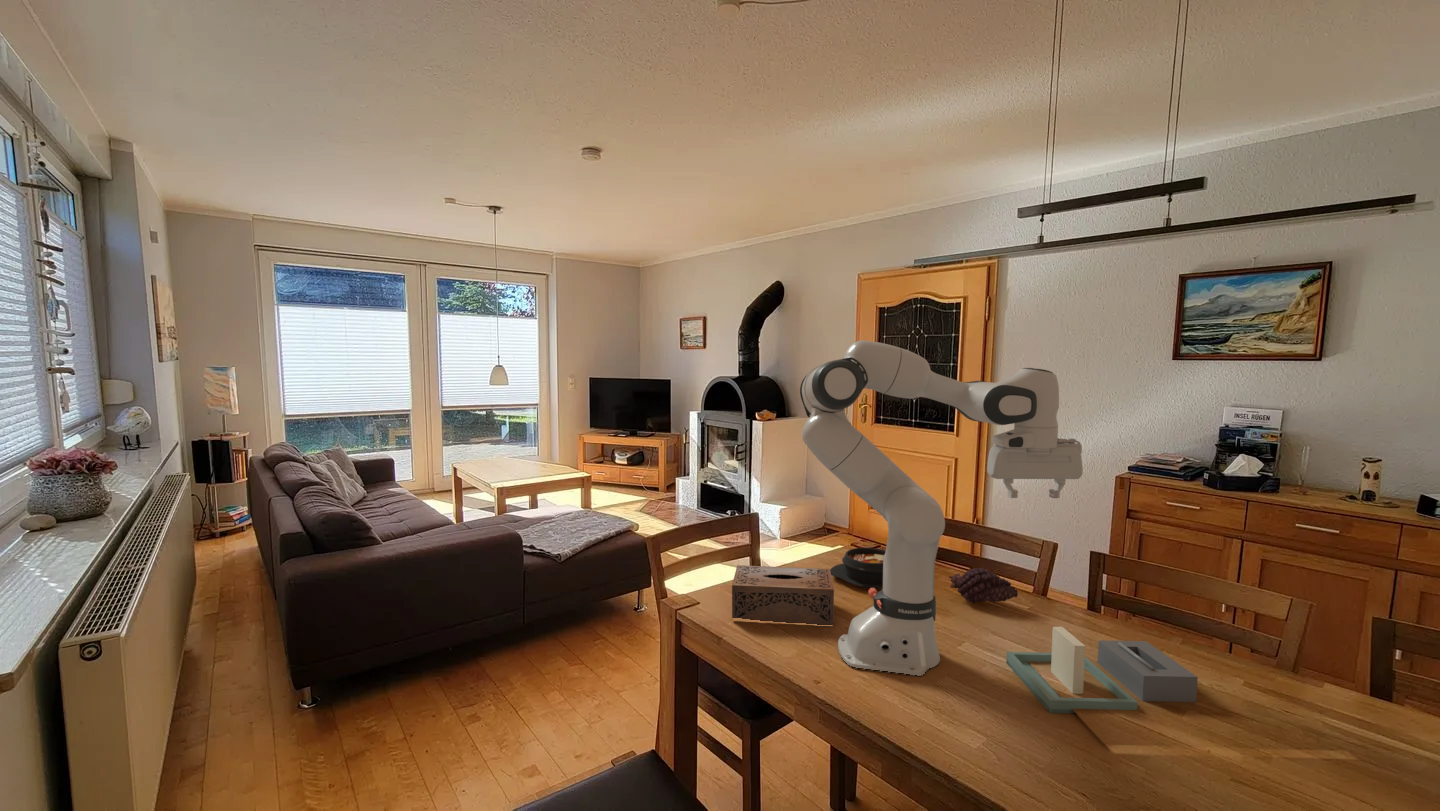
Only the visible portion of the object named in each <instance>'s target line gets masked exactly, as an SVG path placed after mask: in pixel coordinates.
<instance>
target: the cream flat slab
mask: <svg viewBox="0 0 1440 811" xmlns="http://www.w3.org/2000/svg"><path fill="white" fill-rule="evenodd" d="M1051 638H1052V639H1051V653H1052V658H1051V662H1050V663H1051V664H1050V673H1051V674H1053V675H1054V677H1056V678H1057V680H1059V681H1060V683H1061V684H1063V686H1065V688H1067V690H1069V692H1070V693H1071V694H1073V695H1074V694H1075V695H1076V694H1077V695H1079V694H1080V695H1083V694H1084V683H1085V682H1084V681H1085V680H1084V677H1085V667H1084V660H1085V657H1086V655H1085V654H1086V645H1085V644H1084V643H1082V642H1081V641H1080V640H1079V639H1078V638H1076V637H1075V635H1073V634H1072V633H1070V632H1069V631H1068V630H1067V629H1066V628H1064V626H1052V635H1051Z"/></svg>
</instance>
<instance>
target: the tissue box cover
mask: <svg viewBox="0 0 1440 811" xmlns="http://www.w3.org/2000/svg"><path fill="white" fill-rule="evenodd" d="M830 569H831V568H818V567H792V566H791V567H790V566H789V567H788V566H770V565H769V566H765V565H744V564H743V565H739V564H738V565H736V569H735V572H734V577H733V580H732V584H731V599H732V600H731V618H742V619H750V620H760V621H773V622H786V623H806V624H817V625H834V618H835V617H834V616H835V615H834V614H835V613H834V612H835V610H834V609H835V608H834V607H835V605H834V603H835V602H834V601H835V598H834V597H835V596H834V594H835V589H834V583H833V577H832V575H831V572H830Z"/></svg>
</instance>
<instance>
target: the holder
mask: <svg viewBox="0 0 1440 811" xmlns="http://www.w3.org/2000/svg"><path fill="white" fill-rule="evenodd" d="M1097 647H1098V648H1097V649H1098V650H1097V664H1098V665H1100V666H1101V667H1102V668H1103V669H1104V670H1106V671H1107V673H1109V674H1110V675H1111V676H1113V677H1114V678H1115V679H1116V680H1117V681H1119V683H1121V684H1122V685H1123V686H1124V687H1125V688H1127V690H1129V691H1130V692H1131V693H1132V694H1133V695H1135V696H1136V697H1137V698H1138V699H1139V700H1140V701H1142V702H1167V703H1168V702H1169V703H1170V702H1175V703H1197V695H1198V694H1197V693H1198V692H1197V691H1198V678H1199V677H1198V676H1197V675H1196V674H1194V673H1193V672H1191V671H1190V670H1188V669H1187V668H1185V667H1184V666H1183V665H1181V664H1179V663H1178V662H1177V661H1176V660H1174V659H1172V658H1171V657H1169V656H1168V655H1167V654H1165V653H1164V652H1162V651H1161V650H1160V649H1158V648H1157V647H1155V646H1154V645H1152V644H1151V643H1149V642H1148V641H1146V640H1145V641H1144V640H1098V646H1097Z"/></svg>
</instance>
